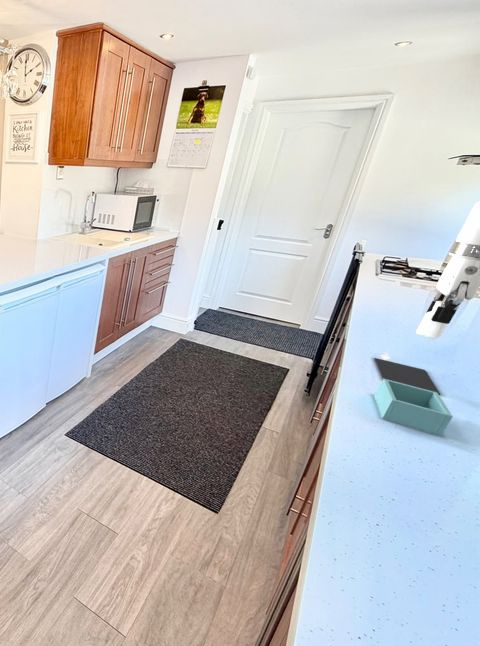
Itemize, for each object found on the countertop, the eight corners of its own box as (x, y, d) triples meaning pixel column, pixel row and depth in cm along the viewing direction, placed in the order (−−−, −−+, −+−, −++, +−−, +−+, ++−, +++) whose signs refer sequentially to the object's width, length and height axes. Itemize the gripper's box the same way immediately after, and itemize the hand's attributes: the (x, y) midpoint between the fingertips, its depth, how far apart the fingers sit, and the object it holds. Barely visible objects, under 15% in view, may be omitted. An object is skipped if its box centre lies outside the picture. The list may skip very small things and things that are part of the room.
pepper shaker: (440, 337, 107) (459, 304, 104) (434, 339, 106) (453, 306, 102) (420, 331, 111) (437, 299, 107) (414, 333, 109) (431, 301, 105)
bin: (426, 410, 98) (437, 392, 96) (440, 436, 89) (453, 416, 87) (374, 396, 103) (383, 378, 101) (381, 418, 94) (392, 399, 92)
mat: (424, 371, 118) (425, 369, 118) (439, 395, 105) (440, 394, 105) (374, 358, 124) (374, 357, 124) (383, 380, 111) (383, 379, 111)
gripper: (510, 260, 91) (467, 333, 98) (484, 249, 103) (447, 314, 111) (462, 254, 95) (424, 324, 102) (442, 244, 108) (410, 307, 115)
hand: (437, 318), depth 106 cm, fingers closed on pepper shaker, 4 cm apart
